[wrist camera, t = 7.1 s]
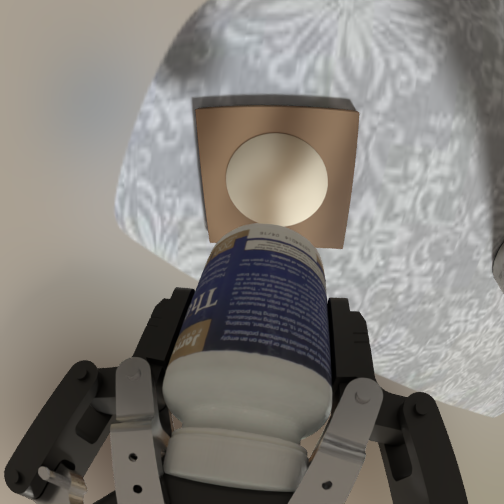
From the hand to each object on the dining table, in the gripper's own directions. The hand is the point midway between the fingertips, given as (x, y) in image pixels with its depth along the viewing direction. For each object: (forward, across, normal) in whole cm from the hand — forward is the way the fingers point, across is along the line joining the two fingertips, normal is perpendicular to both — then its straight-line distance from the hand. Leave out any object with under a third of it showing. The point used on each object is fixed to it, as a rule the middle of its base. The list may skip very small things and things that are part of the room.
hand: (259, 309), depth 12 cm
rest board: (+14, 0, 0) cm, 14 cm away
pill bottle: (+3, 0, 0) cm, 3 cm away
